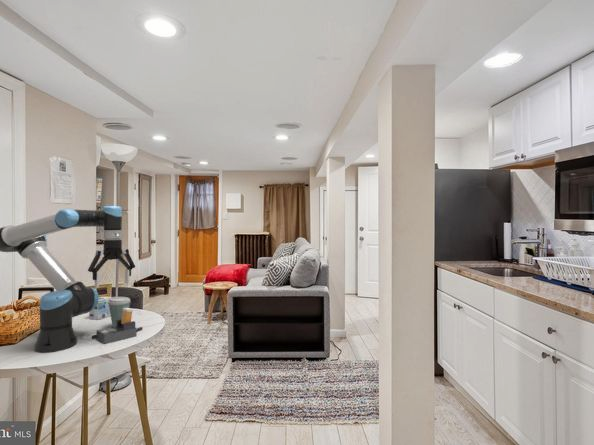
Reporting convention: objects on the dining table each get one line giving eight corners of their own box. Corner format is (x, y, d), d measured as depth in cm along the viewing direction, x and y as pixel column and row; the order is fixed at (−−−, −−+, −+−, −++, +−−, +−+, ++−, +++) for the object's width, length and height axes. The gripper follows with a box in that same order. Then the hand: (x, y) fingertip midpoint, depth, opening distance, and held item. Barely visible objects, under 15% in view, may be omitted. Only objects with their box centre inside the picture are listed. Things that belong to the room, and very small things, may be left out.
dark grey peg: (134, 332, 174) (134, 329, 174) (132, 332, 175) (132, 329, 175) (142, 329, 179) (142, 327, 179) (140, 329, 179) (140, 326, 179)
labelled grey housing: (104, 344, 158) (104, 328, 158) (96, 339, 165) (96, 323, 165) (136, 336, 168) (136, 321, 168) (127, 332, 175) (127, 317, 175)
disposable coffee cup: (132, 323, 190) (132, 295, 190) (128, 329, 180) (128, 299, 180) (111, 324, 188) (110, 296, 188) (105, 330, 177) (105, 300, 177)
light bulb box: (98, 320, 197) (98, 300, 197) (88, 319, 199) (88, 299, 199) (113, 315, 208) (113, 296, 207) (103, 314, 209) (103, 296, 209)
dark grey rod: (92, 338, 165) (92, 335, 165) (91, 338, 166) (91, 335, 166) (134, 329, 179) (134, 326, 179) (132, 329, 180) (132, 326, 180)
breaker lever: (125, 328, 167) (127, 309, 167) (120, 325, 170) (122, 307, 171) (130, 327, 168) (132, 309, 169) (125, 325, 172) (127, 307, 173)
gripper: (86, 240, 154) (86, 290, 154) (142, 238, 173) (142, 282, 173) (79, 240, 159) (79, 287, 159) (135, 238, 178) (135, 281, 178)
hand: (112, 285), depth 166 cm, fingers open, 13 cm apart
